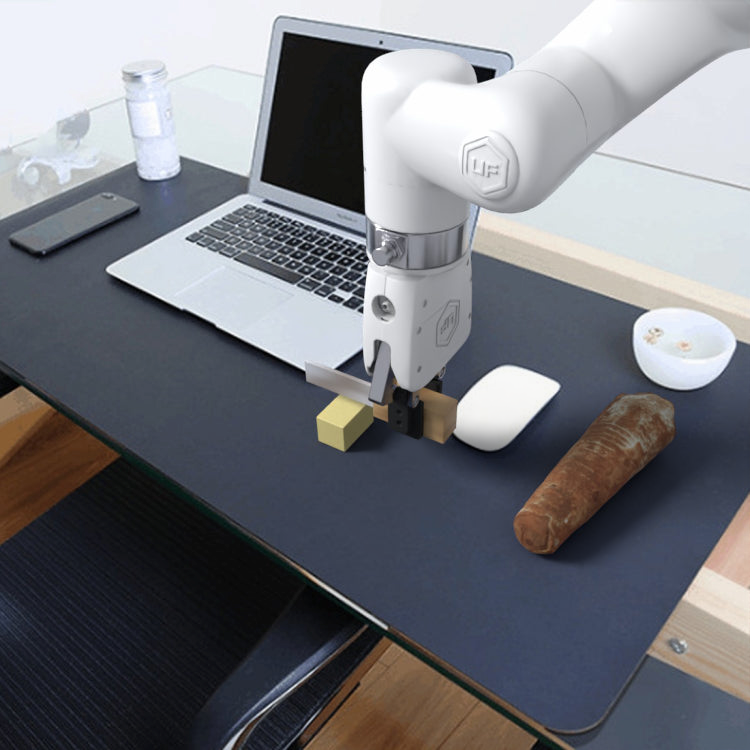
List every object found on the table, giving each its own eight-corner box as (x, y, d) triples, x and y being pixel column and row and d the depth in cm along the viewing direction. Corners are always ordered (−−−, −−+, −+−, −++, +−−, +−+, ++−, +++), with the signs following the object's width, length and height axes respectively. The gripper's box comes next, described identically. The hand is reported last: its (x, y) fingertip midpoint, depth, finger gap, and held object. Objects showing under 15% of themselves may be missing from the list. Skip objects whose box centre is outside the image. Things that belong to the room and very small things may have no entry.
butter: (347, 411, 78) (346, 387, 76) (373, 421, 76) (373, 397, 74) (318, 441, 74) (316, 416, 72) (344, 452, 73) (343, 428, 71)
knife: (299, 387, 73) (297, 359, 72) (315, 373, 75) (312, 346, 73) (443, 444, 67) (444, 415, 65) (456, 428, 69) (458, 399, 67)
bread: (674, 452, 72) (688, 405, 69) (550, 575, 62) (559, 527, 58) (613, 420, 76) (623, 374, 72) (486, 531, 65) (491, 484, 62)
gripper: (405, 298, 51) (404, 497, 62) (511, 201, 62) (494, 386, 73) (310, 268, 54) (326, 462, 66) (426, 181, 65) (422, 360, 76)
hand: (414, 420), depth 69 cm, fingers closed on knife, 2 cm apart
